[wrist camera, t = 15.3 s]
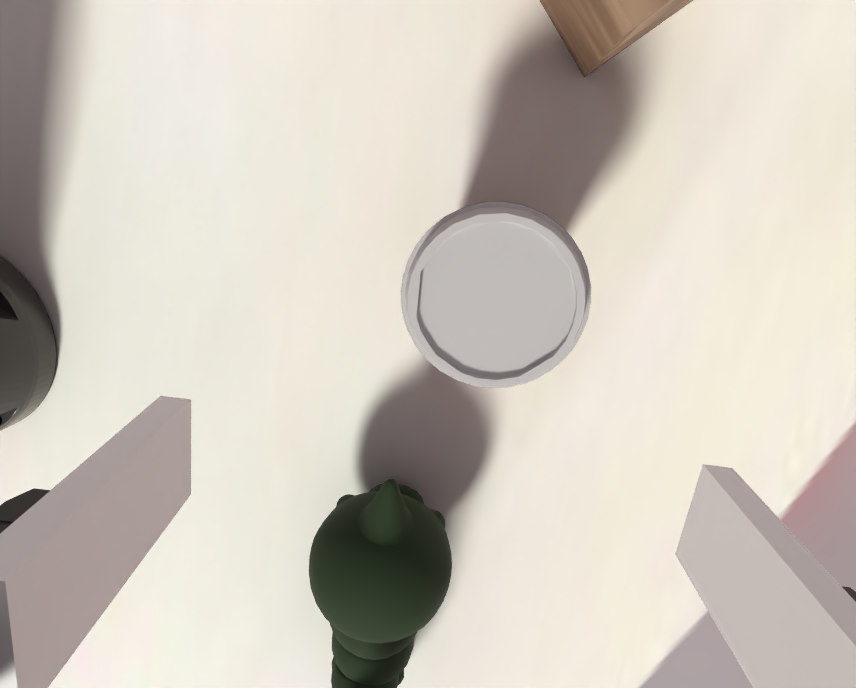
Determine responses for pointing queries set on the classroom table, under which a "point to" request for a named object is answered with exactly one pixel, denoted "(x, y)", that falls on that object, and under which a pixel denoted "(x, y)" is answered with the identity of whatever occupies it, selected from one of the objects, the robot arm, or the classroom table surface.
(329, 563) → the toy figurine
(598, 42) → the walnut cover
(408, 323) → the disposable coffee cup
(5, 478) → the classroom table surface
